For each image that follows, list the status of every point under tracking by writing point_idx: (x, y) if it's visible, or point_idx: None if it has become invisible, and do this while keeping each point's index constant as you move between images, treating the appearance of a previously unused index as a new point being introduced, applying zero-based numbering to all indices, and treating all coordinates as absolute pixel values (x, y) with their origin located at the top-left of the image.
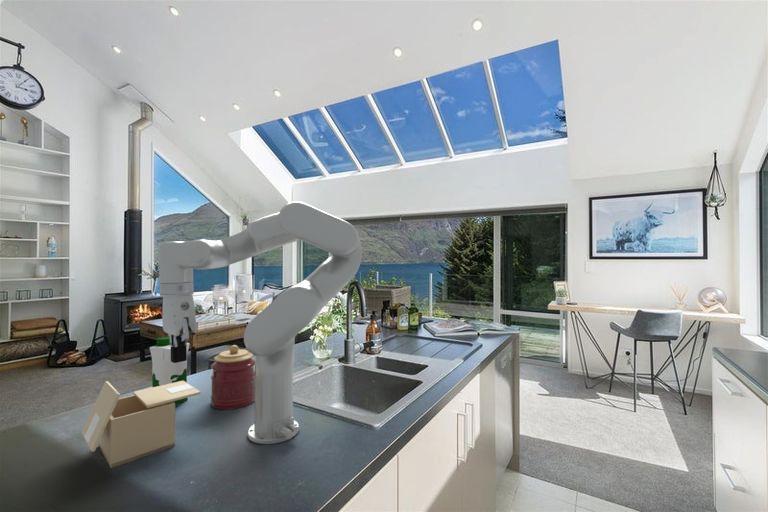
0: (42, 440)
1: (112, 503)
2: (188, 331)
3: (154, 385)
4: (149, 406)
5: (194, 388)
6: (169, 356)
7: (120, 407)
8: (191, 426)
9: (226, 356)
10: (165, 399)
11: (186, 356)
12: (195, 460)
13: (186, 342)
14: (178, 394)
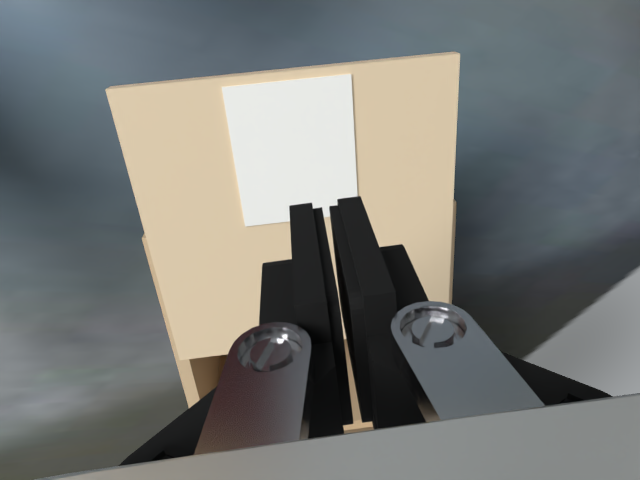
0: (63, 441)
1: (579, 309)
2: (377, 429)
3: None
4: None
5: (361, 70)
6: None
7: (201, 359)
8: (250, 31)
9: None
10: (432, 252)
11: (363, 211)
12: (559, 100)
13: (485, 336)
14: (403, 182)
